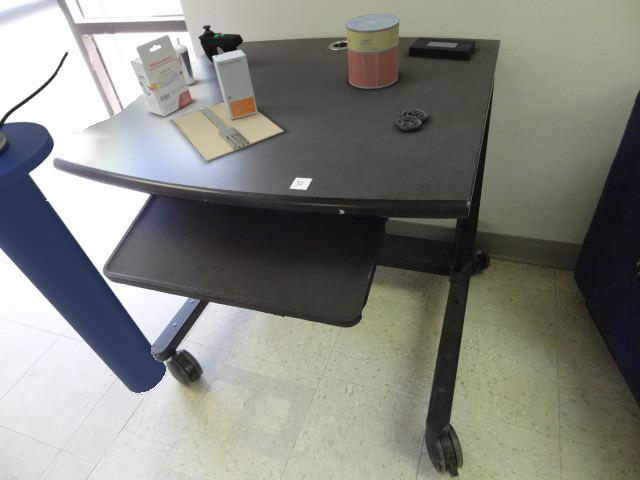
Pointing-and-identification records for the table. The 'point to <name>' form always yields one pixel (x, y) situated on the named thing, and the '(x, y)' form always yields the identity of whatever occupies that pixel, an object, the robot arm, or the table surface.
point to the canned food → (373, 50)
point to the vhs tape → (442, 48)
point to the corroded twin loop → (411, 119)
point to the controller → (218, 42)
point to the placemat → (207, 135)
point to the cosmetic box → (235, 84)
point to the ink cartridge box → (161, 77)
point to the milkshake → (184, 62)
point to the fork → (225, 130)
